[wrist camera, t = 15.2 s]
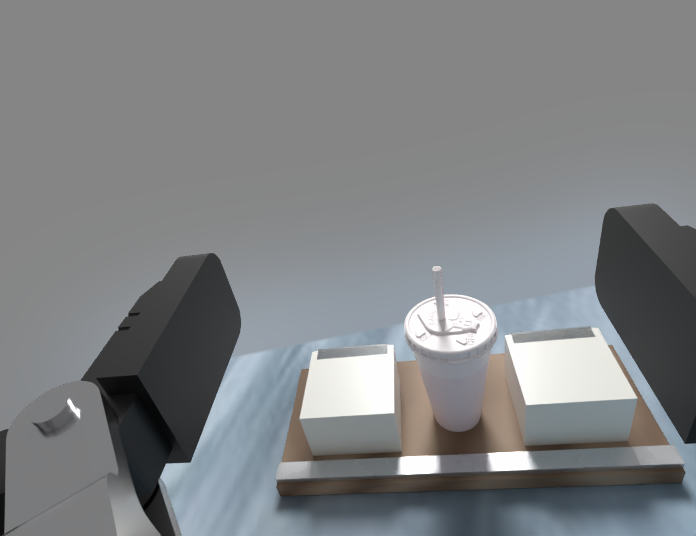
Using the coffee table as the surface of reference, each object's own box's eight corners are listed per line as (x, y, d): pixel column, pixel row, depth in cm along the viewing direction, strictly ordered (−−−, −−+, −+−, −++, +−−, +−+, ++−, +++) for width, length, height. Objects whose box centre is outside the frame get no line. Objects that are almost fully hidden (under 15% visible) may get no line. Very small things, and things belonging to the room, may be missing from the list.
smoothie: (435, 374, 41) (419, 239, 34) (508, 395, 38) (509, 250, 30) (404, 430, 37) (378, 290, 29) (484, 459, 33) (478, 309, 26)
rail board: (280, 496, 35) (259, 450, 32) (304, 378, 45) (289, 334, 42) (681, 482, 31) (701, 428, 28) (610, 355, 41) (619, 304, 38)
